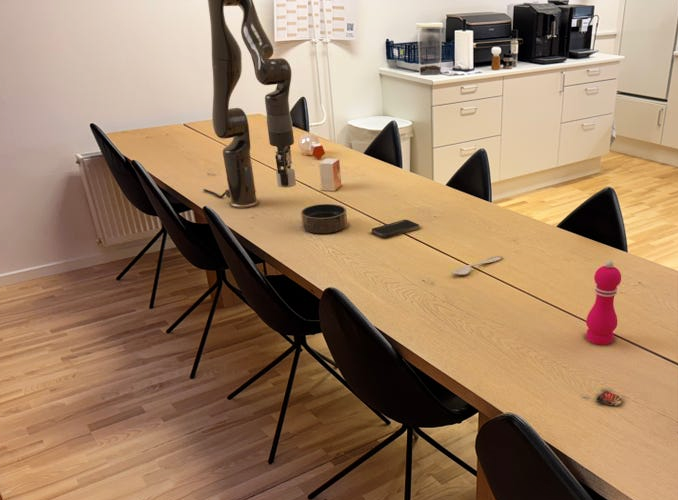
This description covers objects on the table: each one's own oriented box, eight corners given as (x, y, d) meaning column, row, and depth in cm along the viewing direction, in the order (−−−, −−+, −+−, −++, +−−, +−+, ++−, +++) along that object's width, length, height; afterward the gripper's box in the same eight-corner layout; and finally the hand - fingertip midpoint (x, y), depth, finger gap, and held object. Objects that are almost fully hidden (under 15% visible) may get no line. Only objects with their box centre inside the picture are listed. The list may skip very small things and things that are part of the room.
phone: (370, 229, 223) (405, 219, 231) (370, 232, 223) (406, 222, 232) (384, 235, 218) (420, 225, 226) (384, 239, 218) (420, 228, 227)
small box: (334, 191, 262) (332, 164, 257) (321, 190, 263) (318, 163, 258) (341, 185, 269) (339, 158, 264) (328, 184, 270) (326, 157, 264)
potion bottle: (308, 154, 315) (321, 165, 305) (291, 144, 308) (304, 155, 298) (318, 137, 313) (332, 147, 303) (301, 126, 306) (315, 137, 296)
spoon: (447, 275, 194) (447, 270, 193) (495, 256, 207) (495, 250, 206) (458, 279, 192) (458, 274, 191) (505, 259, 204) (505, 254, 203)
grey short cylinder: (274, 184, 220) (272, 170, 217) (290, 181, 223) (288, 166, 221) (283, 188, 216) (282, 174, 214) (299, 185, 219) (297, 170, 217)
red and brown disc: (595, 402, 139) (595, 400, 139) (602, 389, 143) (602, 387, 143) (617, 408, 138) (618, 406, 137) (624, 395, 141) (624, 393, 141)
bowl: (294, 226, 229) (292, 210, 226) (330, 216, 237) (329, 201, 234) (319, 238, 219) (317, 221, 217) (356, 227, 228) (355, 211, 225)
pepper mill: (580, 331, 165) (589, 254, 155) (609, 330, 166) (620, 254, 156) (588, 346, 159) (598, 267, 149) (618, 345, 160) (630, 266, 150)
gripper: (272, 123, 217) (278, 176, 225) (263, 134, 204) (271, 189, 213) (295, 123, 217) (301, 176, 225) (288, 133, 205) (295, 189, 213)
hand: (286, 182), depth 219 cm, fingers closed on grey short cylinder, 6 cm apart
